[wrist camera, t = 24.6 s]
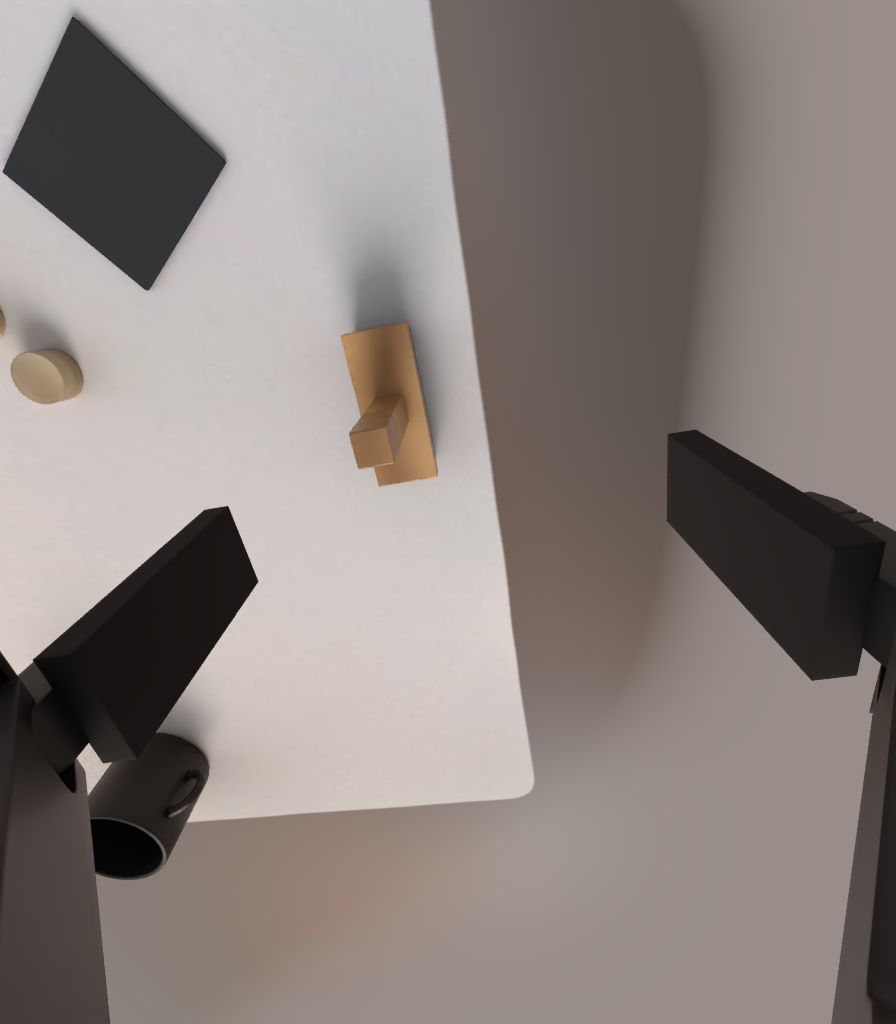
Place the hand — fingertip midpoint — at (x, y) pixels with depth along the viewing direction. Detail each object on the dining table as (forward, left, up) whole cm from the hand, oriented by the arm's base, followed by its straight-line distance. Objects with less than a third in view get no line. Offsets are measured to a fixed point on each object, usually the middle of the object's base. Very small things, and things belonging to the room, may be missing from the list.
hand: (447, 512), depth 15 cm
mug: (+50, +5, -24) cm, 55 cm away
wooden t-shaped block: (+4, -2, -24) cm, 24 cm away
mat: (+5, -25, -24) cm, 34 cm away
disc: (+19, -22, -24) cm, 37 cm away
